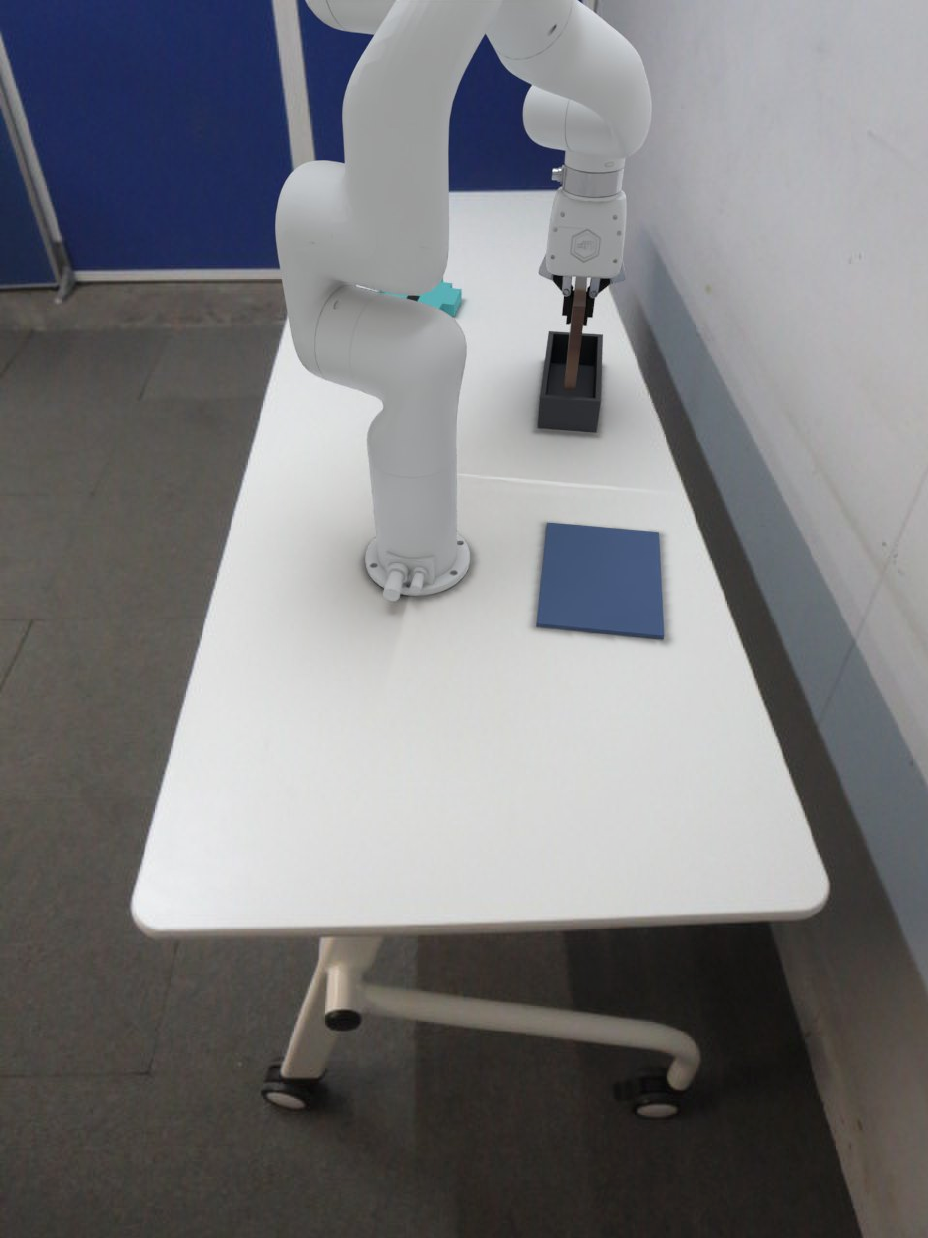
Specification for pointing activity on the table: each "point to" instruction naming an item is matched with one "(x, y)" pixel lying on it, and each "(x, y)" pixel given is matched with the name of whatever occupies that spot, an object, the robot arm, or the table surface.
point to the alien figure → (438, 298)
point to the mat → (601, 581)
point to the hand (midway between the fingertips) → (576, 320)
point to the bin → (566, 404)
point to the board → (575, 332)
